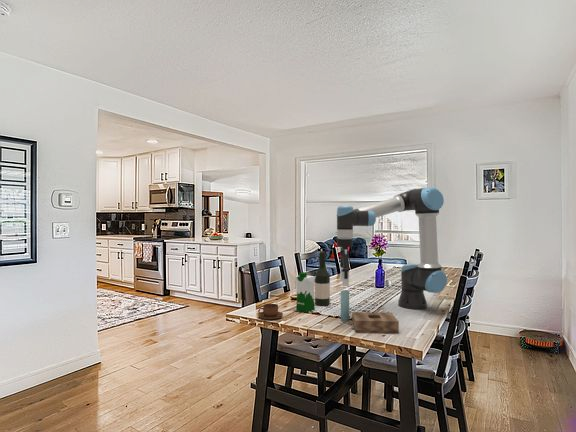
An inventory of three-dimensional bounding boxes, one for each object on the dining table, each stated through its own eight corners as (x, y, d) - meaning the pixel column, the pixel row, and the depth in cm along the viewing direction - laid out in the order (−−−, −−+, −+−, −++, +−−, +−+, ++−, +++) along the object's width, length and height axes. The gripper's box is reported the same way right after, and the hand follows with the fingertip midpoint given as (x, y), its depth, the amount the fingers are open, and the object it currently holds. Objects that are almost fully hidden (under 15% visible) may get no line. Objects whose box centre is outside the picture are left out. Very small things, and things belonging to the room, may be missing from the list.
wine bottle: (329, 307, 202) (328, 252, 202) (313, 306, 203) (313, 251, 204) (330, 303, 210) (330, 250, 210) (315, 302, 211) (315, 250, 212)
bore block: (391, 323, 169) (391, 312, 170) (398, 333, 156) (398, 321, 156) (352, 323, 171) (352, 312, 171) (355, 332, 157) (355, 320, 157)
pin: (348, 319, 177) (348, 290, 177) (349, 321, 173) (349, 291, 173) (340, 319, 177) (340, 290, 177) (341, 321, 173) (340, 291, 173)
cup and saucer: (267, 322, 172) (267, 309, 172) (253, 317, 182) (253, 304, 182) (287, 318, 179) (287, 305, 179) (274, 313, 189) (273, 301, 189)
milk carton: (293, 310, 194) (293, 272, 194) (304, 307, 201) (304, 270, 201) (306, 313, 188) (306, 274, 188) (317, 310, 195) (317, 272, 195)
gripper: (335, 237, 188) (334, 278, 188) (338, 239, 163) (338, 287, 163) (350, 237, 187) (349, 279, 187) (355, 240, 162) (355, 288, 162)
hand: (344, 283), depth 175 cm, fingers open, 13 cm apart
